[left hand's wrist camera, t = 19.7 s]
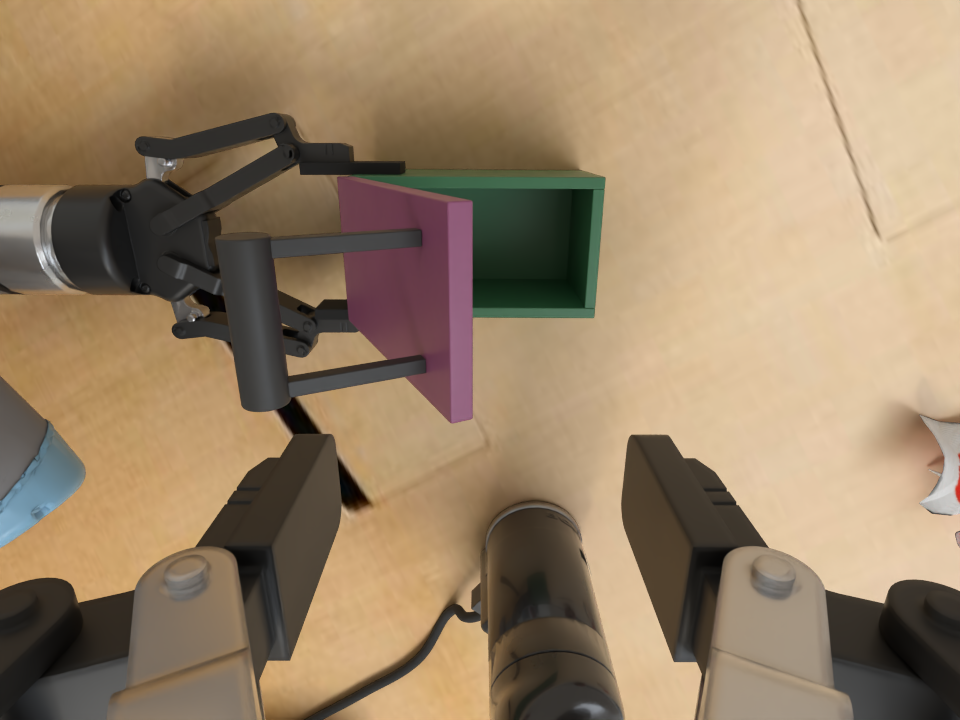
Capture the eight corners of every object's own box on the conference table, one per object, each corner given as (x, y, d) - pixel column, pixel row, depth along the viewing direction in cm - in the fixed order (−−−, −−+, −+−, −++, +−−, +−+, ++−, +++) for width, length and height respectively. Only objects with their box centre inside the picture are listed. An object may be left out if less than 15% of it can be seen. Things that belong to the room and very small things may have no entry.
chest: (581, 170, 44) (605, 177, 35) (573, 285, 47) (594, 318, 39) (373, 169, 44) (347, 175, 35) (380, 284, 47) (358, 317, 39)
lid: (473, 200, 21) (214, 211, 17) (473, 419, 24) (255, 468, 21) (353, 176, 35) (194, 179, 31) (363, 318, 38) (221, 337, 35)
